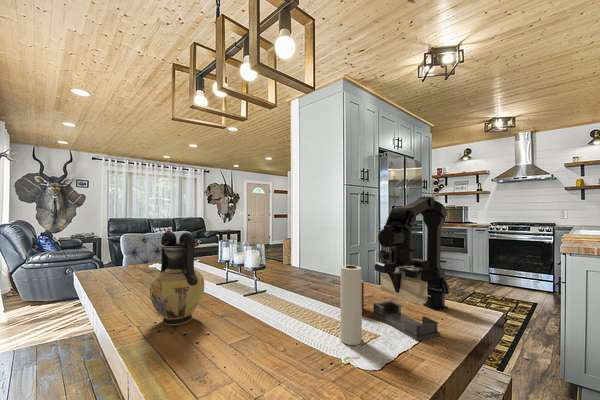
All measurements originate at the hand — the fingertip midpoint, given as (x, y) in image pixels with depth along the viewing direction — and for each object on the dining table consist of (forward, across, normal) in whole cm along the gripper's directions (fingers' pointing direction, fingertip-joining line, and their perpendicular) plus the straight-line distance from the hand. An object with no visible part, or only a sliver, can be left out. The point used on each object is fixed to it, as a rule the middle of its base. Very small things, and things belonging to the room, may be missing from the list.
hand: (402, 291), depth 94 cm
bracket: (+11, 0, 0) cm, 11 cm away
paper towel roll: (+11, +22, +4) cm, 25 cm away
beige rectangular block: (+1, 0, 0) cm, 1 cm away
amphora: (+11, +70, -29) cm, 77 cm away
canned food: (+11, +8, -18) cm, 23 cm away
